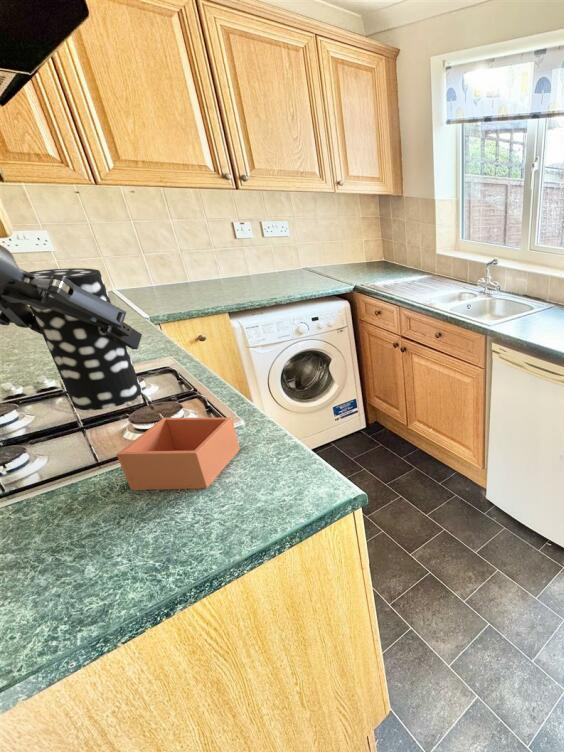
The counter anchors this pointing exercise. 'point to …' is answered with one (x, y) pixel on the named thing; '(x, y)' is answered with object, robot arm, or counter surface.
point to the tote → (179, 453)
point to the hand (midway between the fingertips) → (106, 341)
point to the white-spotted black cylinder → (87, 350)
